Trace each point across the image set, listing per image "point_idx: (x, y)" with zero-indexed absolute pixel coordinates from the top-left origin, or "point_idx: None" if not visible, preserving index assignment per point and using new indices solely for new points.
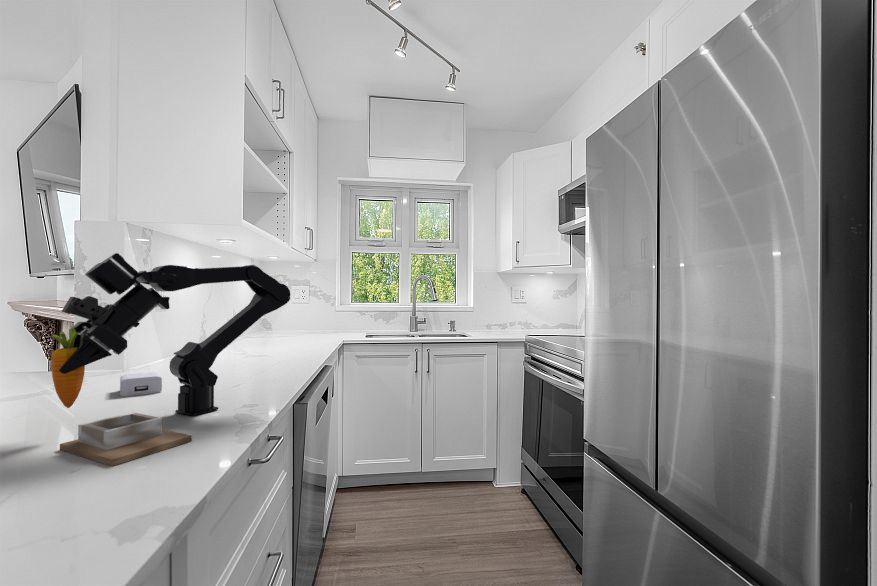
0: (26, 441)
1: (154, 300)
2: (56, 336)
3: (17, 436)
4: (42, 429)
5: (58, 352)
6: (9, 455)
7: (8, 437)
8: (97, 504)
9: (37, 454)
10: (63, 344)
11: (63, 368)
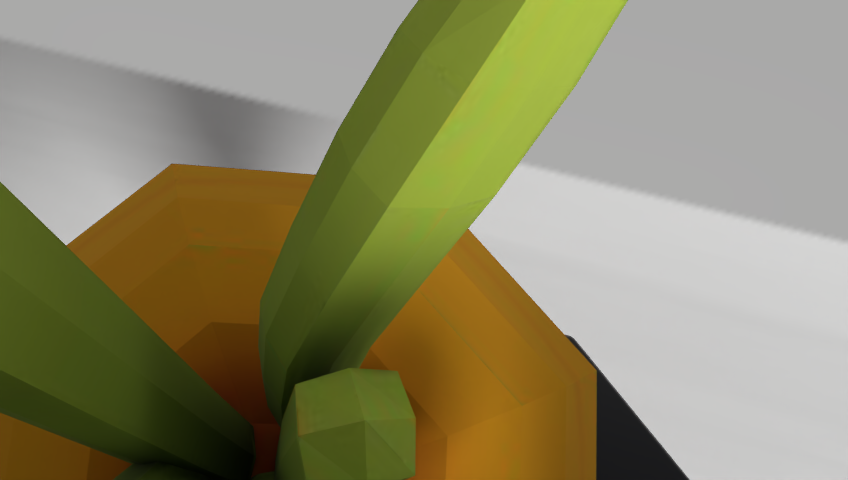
0: None
1: None
2: (399, 82)
3: (599, 230)
4: (664, 377)
5: (121, 213)
6: (167, 86)
7: (619, 192)
8: None
9: (33, 177)
10: (261, 361)
11: None
